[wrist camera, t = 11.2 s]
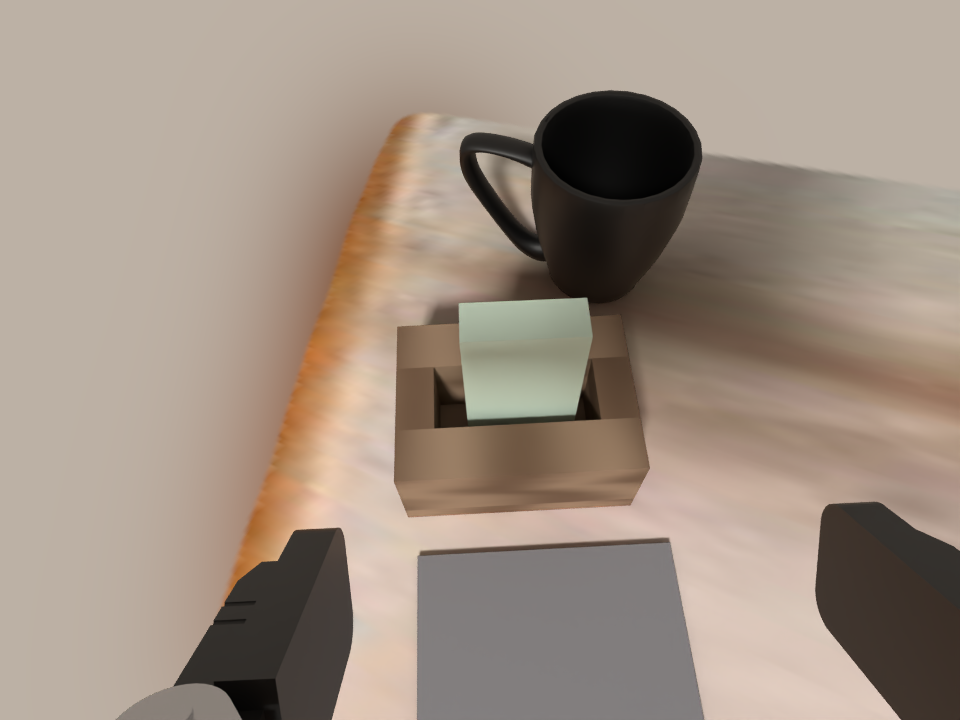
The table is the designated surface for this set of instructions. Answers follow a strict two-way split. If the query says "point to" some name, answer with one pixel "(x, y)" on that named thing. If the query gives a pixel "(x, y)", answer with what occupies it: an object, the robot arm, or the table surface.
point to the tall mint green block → (523, 359)
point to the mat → (554, 636)
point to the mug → (596, 188)
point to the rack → (513, 435)
